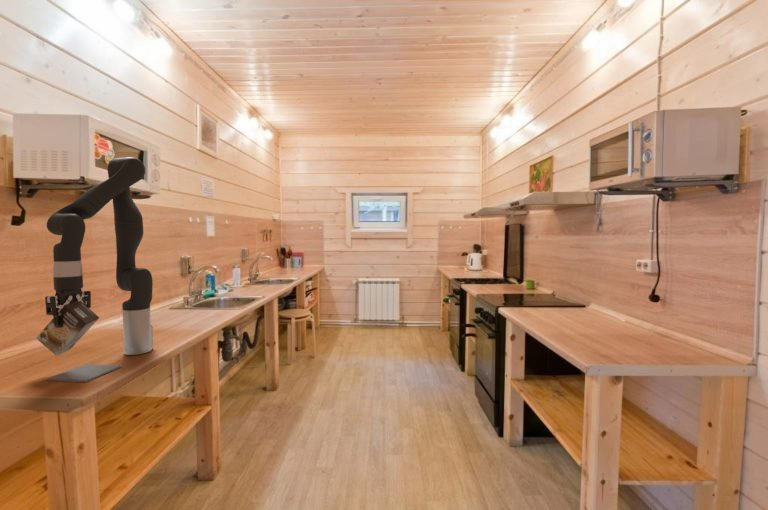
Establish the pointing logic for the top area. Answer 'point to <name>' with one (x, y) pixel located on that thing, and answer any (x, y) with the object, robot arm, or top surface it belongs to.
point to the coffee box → (68, 328)
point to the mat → (84, 373)
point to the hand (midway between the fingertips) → (70, 324)
